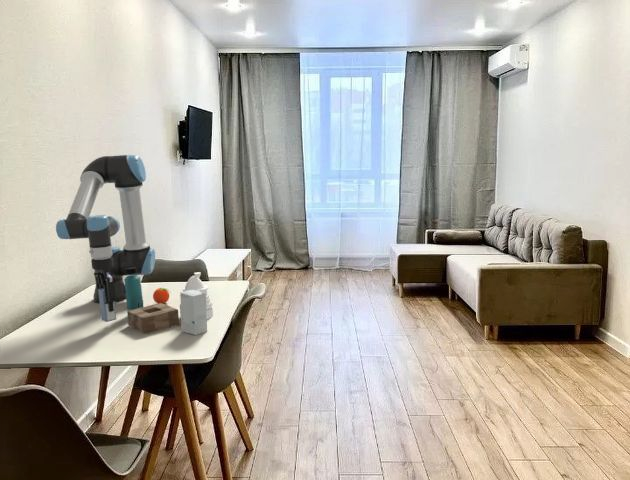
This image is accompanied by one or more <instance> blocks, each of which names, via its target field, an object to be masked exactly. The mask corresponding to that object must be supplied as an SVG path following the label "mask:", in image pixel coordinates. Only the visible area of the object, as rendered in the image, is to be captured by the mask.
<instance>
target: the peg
mask: <svg viewBox="0 0 630 480" xmlns="http://www.w3.org/2000/svg"><path fill="white" fill-rule="evenodd" d="M98 293H99V301H100V303H99V306H100V307H99V308H100V309H99V310H100V316H101V317H100V318H101V321H103V322H105V323H107V322H112V321H115V320H117V314H116V313H117V312H116V305H115V303H116V302H113V303H114V312H115V319H112V320H107V312H106V304H105V302H106V297H105V291H104V288H102V289H98Z"/></svg>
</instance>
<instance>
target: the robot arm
mask: <svg viewBox="0 0 630 480" xmlns="http://www.w3.org/2000/svg"><path fill="white" fill-rule="evenodd" d="M146 175H147V173H146V168H145V164H144V162H143V159H142V158H141V157H140V156H139V155H137V154H133V155H132V154H121V155H103V156H100V157H97V158H95V159H93V160H92V161H91V162H90V163H89V164H88V165H86V167H84V169H83V171H82V172H81V174H80V177H79V180H80V184H79V187H78V189H77V190H76V191H77V192H76V195H75V196H74V199H73V202H72V204H71V206H70V209H69V211H68V214H67V217H66V219H58V220H57V222H56V223H55V230H56V231H55V232H56V235H57V238H59V239H61V240H79V239H88V242H89V245H88V246H89V250H88V253H89V254H90V257H91V260H90V261H91V268H92V270H93V271H94V272H93V275H94V281H95V288H94V293H93V302H95V303H99V304H100V301H99V293H98V289H102V288H104V291H105V297H106V302H105V304H106V312H107V320H112V319H115V312H116V311H115V312H114V303H116V302H120V301H124V300H126V290H125V281H124V279H123V278H124V277H125V276H126V277H127V276H130V275H137V276H143V275H150V274H152V272H153V271H154V270H155V269H154V268H155V264H156V251H155V249H154V248H152V247H151V245H150V243H149V242H148V241H147V240H146V233H145V224H144V216H143V208H142V207H143V206H142V198H141V191H140V189H141V188H142V187H143V183H144V182H145V181H146V178H147V176H146ZM105 184H114V188H115V189H116V190H117V191H118V194H119V200H120V208H121V214H122V215H121V216H122V221H123V223H122V224H123V229H124V237H125V244H124V246H123V247H122V249H121V248H120V247H119V246H113V247H112V239H111V237H113V236H115V235H116V234H117V233H118V232H119V230H120V229H121V225H120V221H119V220H118V219H117V218H116V217H115V216H111V215H110V216H107V215H105V214H103V215H102V214H96V215H91V212H92V209H93V207H94V204H95V201H96V199H97V196H98V194H99V191H100V189H102V188H103V187H104V185H105ZM90 215H91V216H90ZM130 267H136V270H137V273H134V274H126V269H127V268H130ZM113 302H114V303H113Z"/></svg>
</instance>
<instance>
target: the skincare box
mask: <svg viewBox="0 0 630 480" xmlns="http://www.w3.org/2000/svg"><path fill="white" fill-rule="evenodd" d="M179 296H180V304H181V317H180V320H181V322H180V323H181V332H183V333H186V334H191V335H193V336H197V335H200V334H203V333H206V332H208V322H207V321H208V319H207V312H206V293H203V292H200V291H196V290H188V291H184V292H183V291H181V292H180V295H179Z"/></svg>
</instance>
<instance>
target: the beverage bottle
mask: <svg viewBox="0 0 630 480" xmlns="http://www.w3.org/2000/svg"><path fill="white" fill-rule="evenodd" d="M134 273H137V270H136V267H130V268H127V269H126V274H134ZM123 282H124V284H125V290H126V299H125V301H126V307H127V308H126V312H127V311H129V310H133V309H137V308H142V307H145V306H144V298H143V292H142V291H143V289H142V282H141V277H140V275H127V276H126V277H125V278H124V279H123Z"/></svg>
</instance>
